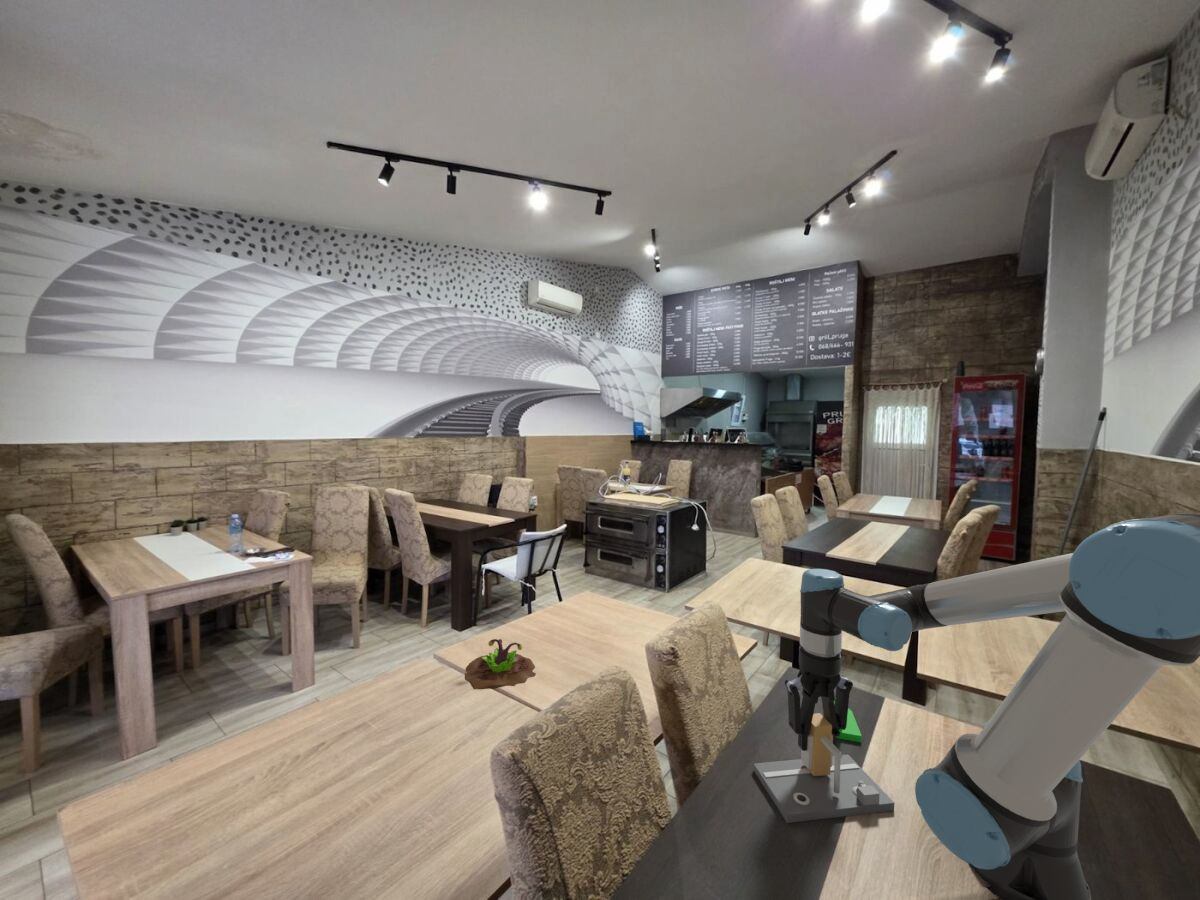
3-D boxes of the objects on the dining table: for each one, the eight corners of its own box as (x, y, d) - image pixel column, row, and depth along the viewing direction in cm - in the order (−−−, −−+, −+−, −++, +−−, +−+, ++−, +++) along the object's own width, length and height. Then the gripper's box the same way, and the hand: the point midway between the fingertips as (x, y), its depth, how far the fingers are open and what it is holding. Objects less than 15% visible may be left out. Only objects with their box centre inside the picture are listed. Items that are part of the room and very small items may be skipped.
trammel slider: (846, 794, 89) (848, 742, 89) (829, 795, 89) (831, 743, 88) (818, 760, 98) (819, 713, 98) (802, 762, 98) (803, 714, 97)
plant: (459, 667, 140) (458, 629, 139) (524, 654, 147) (524, 618, 147) (469, 703, 121) (469, 660, 121) (543, 687, 129) (543, 646, 128)
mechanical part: (861, 744, 106) (862, 709, 106) (831, 739, 108) (833, 705, 108) (849, 713, 118) (850, 682, 117) (823, 709, 120) (824, 678, 119)
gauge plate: (894, 810, 88) (894, 792, 88) (787, 822, 85) (787, 804, 85) (847, 761, 101) (848, 745, 100) (753, 770, 98) (754, 754, 98)
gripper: (846, 638, 99) (842, 747, 101) (771, 642, 97) (768, 754, 98) (871, 655, 92) (867, 772, 93) (790, 660, 90) (787, 780, 91)
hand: (816, 762), depth 96 cm, fingers closed on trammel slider, 3 cm apart
